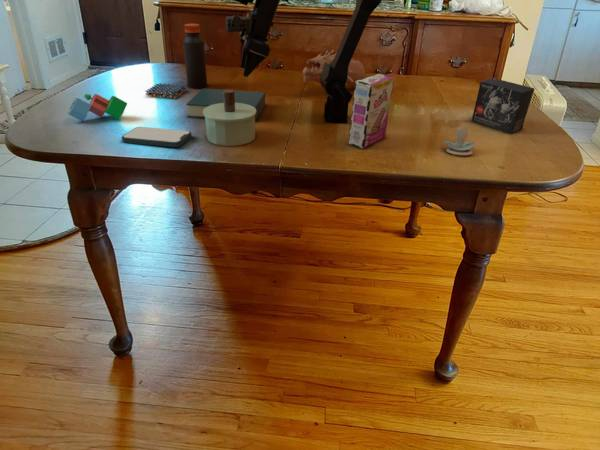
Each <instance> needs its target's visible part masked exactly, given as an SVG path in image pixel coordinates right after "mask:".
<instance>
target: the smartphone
mask: <svg viewBox="0 0 600 450" xmlns="http://www.w3.org/2000/svg"><path fill="white" fill-rule="evenodd" d="M192 137H193V133H192V131H190V130H181V129H170V128H161V127H160V128H158V127H150V126H136V127H134V128H133V129H130V130H129V131H128V132H126V133H124V134H123V135H122V136H121V142H123V143H128V144H137V145H148V146H158V147H169V148H180V147H182V146H183V145H184V144H185V143H186V142H187V141H189V140H190V139H191V138H192Z"/></svg>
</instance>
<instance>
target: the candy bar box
mask: <svg viewBox="0 0 600 450" xmlns="http://www.w3.org/2000/svg"><path fill="white" fill-rule="evenodd" d="M394 82H395V77H394V76H390V75H386V74H382V73H377V74H374V75H371V76H368V77H364V79H361V80H357V81H355V87H354V90H353V100H352V101H353V102H352V109H351V118H350V119H351V120H350V128H349V136H348V145H350V146H352V147H356V148H358V149H363V150H364V149H366V148H368V147H370V146H372V145H373V144H375V143H378V142H380V141H381V140H384V139H385V138H386V134H387V127H388V120H389V113H390V106H391V101H392V94H393V87H394Z"/></svg>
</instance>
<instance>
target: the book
mask: <svg viewBox="0 0 600 450" xmlns="http://www.w3.org/2000/svg"><path fill="white" fill-rule="evenodd" d="M224 90H225V89H217V88H201V90H199V91H198V92H197V93H196V94H195V95H194V96H193V97H192V98H191V99H190V100H189V101H187V103H186V104H185V105H186V106H187V112H188V115H187V118H192V119H205V116H204V115H203V110H204V109H205V108H206V107H208V106H210V105H214V104H218V103H224V97H223V91H224ZM234 92H235V103H243V104H247V105H251V106H253V107H254V108H255V109H256V115H255V123H256V122H257V120H258V118H259V117H260V115H261V113H262V111H263V110H264V108H265V106H266V92H265V91H264V92H263V91H248V90H234Z"/></svg>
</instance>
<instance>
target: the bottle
mask: <svg viewBox="0 0 600 450" xmlns="http://www.w3.org/2000/svg"><path fill="white" fill-rule="evenodd" d="M183 25H184V32H185V34H186V36H185V38H184V39H183V41H182V44H183V55H184V63H185V65H184V66H185V73H186V83H187V87H188V88H189V89H195V90H196V89H197V90H198V89H205V88H206V87H208V77H207V64H206V63H207V62H206V51H205V40H203V38H202V37H201V35H200V34H201V24H199V23H185V24H183Z"/></svg>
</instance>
